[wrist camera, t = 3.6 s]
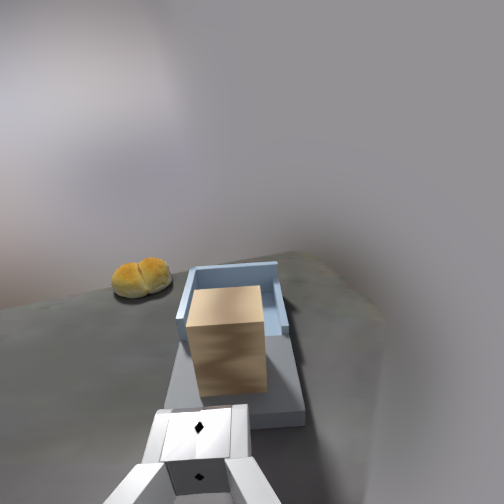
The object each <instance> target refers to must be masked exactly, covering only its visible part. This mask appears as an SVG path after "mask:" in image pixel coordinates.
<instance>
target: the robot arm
mask: <svg viewBox="0 0 504 504" xmlns="http://www.w3.org/2000/svg"><path fill="white" fill-rule="evenodd" d="M222 492H231V495H232V498H233V500H234V502H235V504H281V502H280V500H279V499H278V497H277V495H276V494H275V492H274V491H273V489H272V487H271V486H270V484H269V482H268V481H267V479H266V477H265V476H264V474H263V472H262V471H261V469H260V467H259V466H258V464H257V462H256V461H255V459H254V457H251V433H250V421H249V410H248V404H240V405H220V406H208V407H201V408H181V409H161V410H158V411H157V412H156V414H155V417H154V420H153V424H152V427H151V431H150V434H149V438H148V441H147V445H146V449H145V452H144V456H143V459H142V463H141V464H136V465H135V467H134V468H133V469H132V470H131V471H130V472H129V474H128V475H127V476H126V477H125V478H124V479H123V481H122V482H121V483H120V484H119V485H118V487H117V488H116V489H115V490H114V491H113V492H112V494H111V495H110V496H109V497H108V498H107V499H106V501H105V502H104V503H103V504H173V503H174V501H175V499H176V496H179V495H189V494H199V493H222Z"/></svg>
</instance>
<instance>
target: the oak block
mask: <svg viewBox="0 0 504 504" xmlns="http://www.w3.org/2000/svg"><path fill="white" fill-rule="evenodd" d="M186 331H187V336H188V341H189V346H190V351H191V356H192V361H193V366H194V371H195V376H196V381H197V386H198V391H199V396H200V397H207V396H221V395H235V394H249V393H263V392H267V372H266V351H265V330H264V316H263V307H262V299H261V290H260V285H257V286H242V287H228V288H213V289H199V290H194V293H193V298H192V302H191V306H190V310H189V315H188V319H187V323H186Z"/></svg>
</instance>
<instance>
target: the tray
mask: <svg viewBox="0 0 504 504" xmlns="http://www.w3.org/2000/svg"><path fill="white" fill-rule="evenodd" d="M257 285H260V290H261V299H262V307H263V316H264V330H265V336H276V335H289V324H288V320H287V315H286V311H285V306H284V302H283V297H282V293H281V288H280V284H279V279H278V263H277V261H274V262H259V263H245V264H230V265H215V266H201V267H191V268H190V271H189V275H188V278H187V282H186V285H185V289H184V292H183V295H182V299H181V302H180V306H179V309H178V313H177V316H176V323H177V327H178V332H179V336H180V341H181V342H189V341H188V336H187V331H186V323H187V319H188V315H189V310H190V306H191V302H192V298H193V293H194V290H199V289H213V288H228V287H242V286H257Z"/></svg>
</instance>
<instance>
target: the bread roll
mask: <svg viewBox="0 0 504 504" xmlns="http://www.w3.org/2000/svg"><path fill="white" fill-rule="evenodd" d="M171 282H172V276H171V273H170V271H169V267H168V263H166V262H165V261H163V260H161V259H158V258H146V259H144V260H143V261H141V262H140V263H138V264H137V263H127V264H124V265H122V266H121V267H119V268H118V269H117V270H116V271H115V273H114V274H113V277H112V280H111V285H112V288H113V290H114V292H115V293H117V294H118V295H120V296H123V297H126V298H139V297H143V296H146V295H147V294H148V293H150V294H154V293H157V292H159V291H161V290H163V289H165V288H166V287H167V286H169V285H170V283H171Z"/></svg>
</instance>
